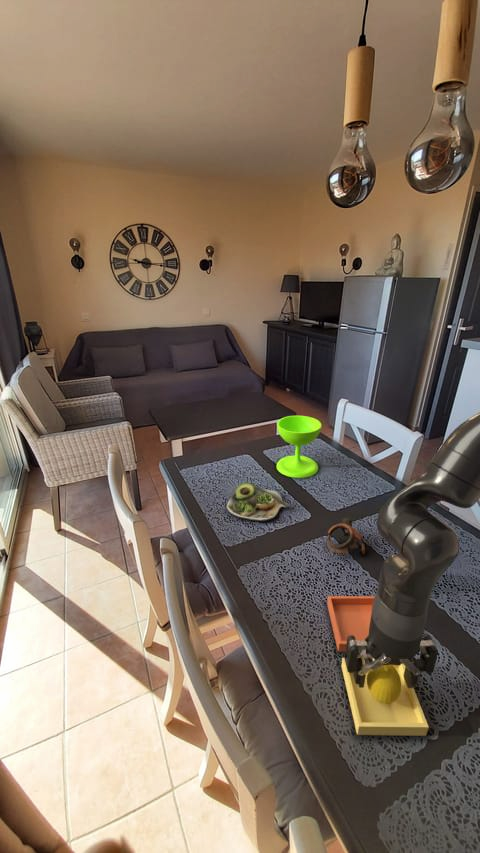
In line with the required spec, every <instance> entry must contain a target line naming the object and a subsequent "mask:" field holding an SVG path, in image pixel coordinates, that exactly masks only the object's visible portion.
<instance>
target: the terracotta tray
mask: <svg viewBox="0 0 480 853" xmlns="http://www.w3.org/2000/svg"><path fill="white" fill-rule="evenodd" d="M374 597H375V595H374V596H373V595H367V596H366V595H359V596H358V595H351V596H350V595H349V596H348V595H342V596H341V595H339V596H338V595H334V596H333V595H328V596H327V603H326V605H327V611H328V613H329V614H328V615H329V618H330V622H331V627H332V631H333V637H334V640H335V645H336V649H337V653H345V649H346V643H347V638H348V636H350V635H353V636H354V637H355V640H362V641H365V639H366V637H367V636H368V635H369V625H370V620H371V614H372V605H373V602H374Z"/></svg>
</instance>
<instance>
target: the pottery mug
mask: <svg viewBox="0 0 480 853" xmlns="http://www.w3.org/2000/svg"><path fill="white" fill-rule="evenodd" d="M338 529H340V530H341V531H342V534H343V537H347V538H348V539H347V540H346V541H345V542H344V543H340V544H336V543H333V542H332V540H331V536H332V534H333V533H334V532H335V531H336V530H338ZM358 544H360V545H361V551H362V555H365V554H366V548H365V547H366V546H365V545H366V544H365V541H364V538H363V536H362V534H361V533H360V532H359V531H358V530H357V529H356V528H355V527H353V522H352V519H351V518H350V517H344V518H343V519H342V521H341V523H337V524H335V525H332V526H331V527H330V528H329V530H327V537H326V547H327V548H328V549H329V550H330V551H331V552H332V553H333V554H345V555H347V556H349V555H350V554H349V548H350V549H358V548H359V545H358Z"/></svg>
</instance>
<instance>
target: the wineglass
mask: <svg viewBox="0 0 480 853" xmlns="http://www.w3.org/2000/svg"><path fill="white" fill-rule="evenodd" d="M276 427H277V431H278V434H279V436H280V437H281V438H282V439H283V441H284V442H286V443H288V444H290V445H292V446H295V448H294V449H295V451H294V454H292V455H287V456H284V457H282V458H280V459H279V460H278V461H277V463H276V471H278V472H279V473H280V474H281V475H284V476H286V477H289V478H295V479H305V478H309V477H312V476H314V475H316V474H317V473H318V471H319V465H318V463H317V462H316V461H315V460H314V459H313V458H311V457H307V456H304V455H301V449H302V448H301V447H302V446H306V445H309V444H311V443H313V442H314V441H315V440H316V439H317V438H318V436H319V435H320V433H321V430H322V423H321V421H320V420H318V419H316V418H315V417H311V416H306V415H287V416H283V417H282V418H280V419H278V421H277V422H276Z"/></svg>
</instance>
